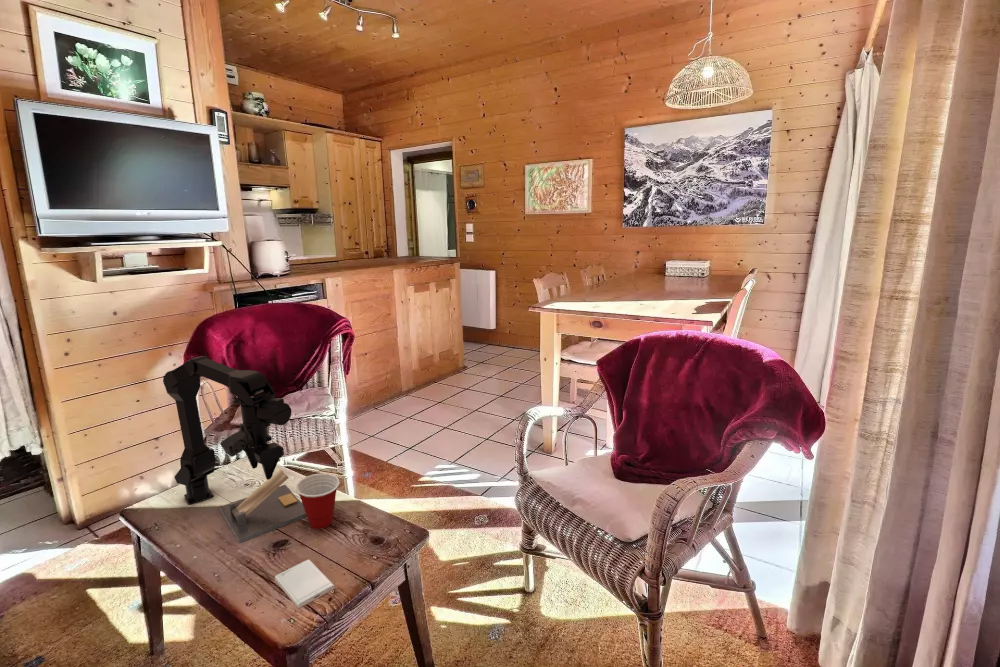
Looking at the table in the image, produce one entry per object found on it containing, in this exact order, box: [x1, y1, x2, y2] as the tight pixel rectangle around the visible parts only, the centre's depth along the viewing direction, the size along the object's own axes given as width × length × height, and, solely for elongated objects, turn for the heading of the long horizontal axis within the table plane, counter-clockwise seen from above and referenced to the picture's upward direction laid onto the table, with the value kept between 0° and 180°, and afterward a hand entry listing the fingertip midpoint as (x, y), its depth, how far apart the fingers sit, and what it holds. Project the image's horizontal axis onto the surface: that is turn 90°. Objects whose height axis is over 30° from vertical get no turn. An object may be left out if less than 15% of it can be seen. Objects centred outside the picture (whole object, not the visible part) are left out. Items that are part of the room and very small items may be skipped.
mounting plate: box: [219, 484, 307, 544], centre depth 139 cm, size 20×18×4 cm
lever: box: [232, 468, 289, 520], centre depth 138 cm, size 5×16×2 cm
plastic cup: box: [295, 472, 340, 530], centre depth 133 cm, size 11×11×12 cm
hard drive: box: [274, 559, 336, 609], centre depth 112 cm, size 2×8×12 cm
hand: (261, 473), depth 136 cm, fingers open, 9 cm apart
